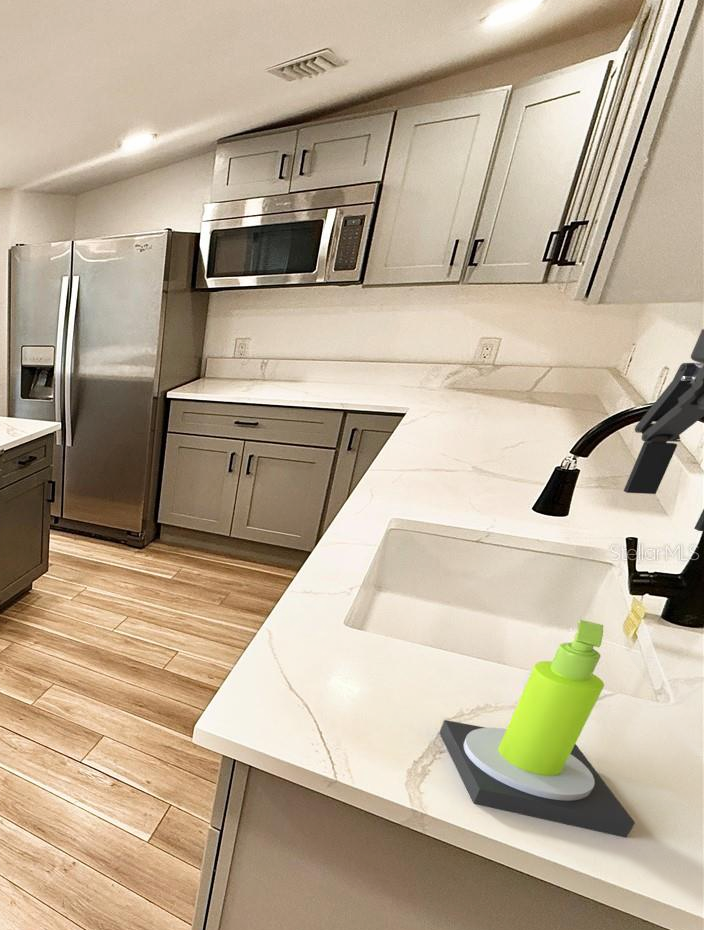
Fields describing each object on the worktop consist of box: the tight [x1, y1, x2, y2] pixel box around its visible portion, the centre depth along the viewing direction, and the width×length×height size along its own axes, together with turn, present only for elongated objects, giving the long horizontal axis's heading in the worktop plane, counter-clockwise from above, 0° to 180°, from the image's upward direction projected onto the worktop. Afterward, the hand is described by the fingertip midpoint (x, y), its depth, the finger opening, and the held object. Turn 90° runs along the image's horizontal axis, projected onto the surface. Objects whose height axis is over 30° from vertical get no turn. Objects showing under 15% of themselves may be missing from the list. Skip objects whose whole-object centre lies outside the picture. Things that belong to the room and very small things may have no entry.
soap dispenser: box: [499, 619, 605, 776], centre depth 74 cm, size 6×7×20 cm
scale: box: [439, 719, 636, 838], centre depth 79 cm, size 14×14×3 cm
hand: (673, 510), depth 74 cm, fingers open, 13 cm apart
